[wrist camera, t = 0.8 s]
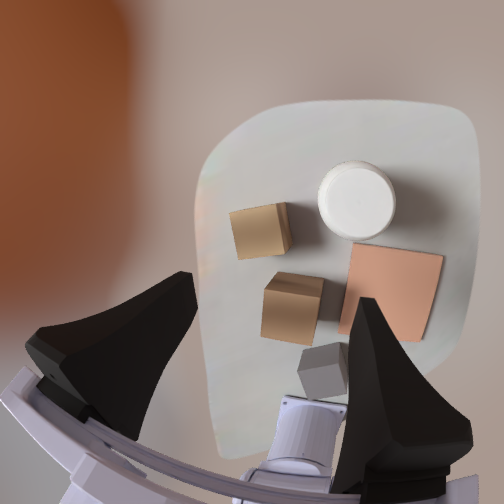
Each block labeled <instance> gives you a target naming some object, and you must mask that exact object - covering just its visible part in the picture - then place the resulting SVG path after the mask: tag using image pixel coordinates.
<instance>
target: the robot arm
mask: <svg viewBox="0 0 504 504" xmlns="http://www.w3.org/2000/svg"><path fill="white" fill-rule="evenodd" d="M197 310H198V305H197V299H196V294H195V288H194V282H193V276H192V273H188V272H182V271H180V272H177V273H175V274H173V275H172V276H170V277H168V278H166V279H165V280H163V281H161V282H160V283H158V284H156V285H155V286H153V287H151V288H149V289H148V290H146V291H144V292H143V293H141V294H139V295H137V296H135V297H133V298H132V299H129V300H128V301H126V302H124V303H122V304H120V305H118V306H116V307H114V308H111V309H109V310H106V311H104V312H101V313H99V314H96V315H93V316H90V317H87V318H84V319H81V320H77V321H74V322H69V323H65V324H60V325H54V326H47V327H41V328H39V329H38V330H37V331H36V333H35V334H34V335H33V336H32V337H31V338H30V339H29V340H28V341H27V342H26V343H25V348H26V350H27V352H28V354H29V355H30V357H31V358H32V360H33V361H34V362H35V364H36V365H37V366H38V368H39V369H40V370H41V372H42V373H43V374H44V377H43V378H42V379H41V378H40V377H39V376H38V375H36V374H35V373H34V372H33V371H32V370H31V369H29V368H28V367H27V366H24V367H23V368H22V369H21V371H20V372H19V373H18V374H17V375H16V377H15V378H14V379H13V380H12V381H11V383H10V384H9V385H8V386H7V388H6V389H5V390H4V391H3V393H2V394H1V395H0V401H1V402H2V403H3V404H4V406H5V407H6V408H7V409H8V410H9V411H10V413H11V414H12V415H13V416H14V417H15V418H16V420H17V421H18V422H19V423H20V424H21V425H22V426H23V427H24V429H25V430H26V431H27V432H28V433H29V434H30V435H31V436H32V437H33V438H34V440H35V441H36V442H37V443H38V444H39V445H40V446H41V447H42V448H43V449H44V450H45V451H46V452H47V453H48V454H49V455H51V456H52V457H53V458H54V459H55V460H56V461H57V462H58V463H59V464H60V465H61V466H63V467H64V468H65V469H66V470H67V471H69V472H70V473H71V475H70V480H71V484H70V486H69V488H68V489H67V491H66V492H65V494H64V496H63V498H62V499H61V501H60V503H59V504H207V503H204V502H201V501H198V500H196V499H193V498H190V497H188V496H185V495H182V494H180V493H177V492H174V491H172V490H170V489H168V488H165V487H162V486H160V485H158V484H156V483H154V482H152V481H149V480H147V479H145V478H146V476H147V475H146V473H144V472H143V471H141V470H139V469H138V468H136V467H135V466H134V465H132V464H131V463H129V462H128V461H127V460H126V459H125V458H123V457H122V456H120V455H118V454H117V453H115V452H114V451H112V450H111V448H112V449H114V450H116V451H118V452H120V453H122V454H123V455H125V456H127V457H129V458H131V459H133V460H135V461H137V462H139V463H141V464H143V465H145V466H147V467H149V468H151V469H154V470H156V471H158V472H160V473H163V474H165V475H167V476H170V477H172V478H175V479H177V480H180V481H182V482H185V483H188V484H191V485H193V486H196V487H200V488H202V489H205V490H209V491H212V492H215V493H218V494H222V495H225V496H229V497H233V500H232V504H478V494H479V491H478V490H479V488H478V487H479V486H478V485H479V484H478V475H477V474H475V475H472V476H468V477H464V478H460V479H455V480H452V481H449V482H446V476H447V475H449V474H450V465H451V464H453V463H454V462H456V461H457V460H459V459H460V458H462V457H463V456H464V455H466V454H467V453H468V452H469V451H470V450H471V449H472V447H473V435H472V428H471V423H470V420H468V419H467V418H466V417H465V416H463V415H462V414H461V413H460V412H459V411H457V410H456V409H455V408H454V407H452V406H451V405H450V404H449V403H448V402H447V401H446V400H445V399H444V398H443V397H442V396H441V395H440V394H439V393H438V392H437V391H436V390H435V389H434V388H433V387H432V386H431V385H430V384H429V382H428V381H427V380H426V379H425V378H424V377H423V375H422V374H421V373H420V372H419V371H418V369H417V368H416V367H415V365H414V364H413V363H412V361H411V360H410V358H409V357H408V356H407V354H406V353H405V351H404V349H403V348H402V346H401V345H400V343H399V341H398V340H397V338H396V336H395V335H394V333H393V331H392V329H391V328H390V326H389V324H388V322H387V320H386V319H385V317H384V315H383V313H382V311H381V309H380V307H379V305H378V303H377V301H376V300H375V298H370V297H361V296H360V299H359V302H358V306H357V310H356V313H355V317H354V320H353V324H352V327H351V331H350V339H349V351H348V368H349V401H348V412H347V419H346V426H345V432H344V437H343V443H342V448H341V452H340V457H339V462H338V465H337V469H336V473H335V476H333V477H332V480H331V474H332V468H331V467H332V460H333V454H334V446H335V439H336V435H337V432H338V430H339V428H340V425H341V423H342V421H343V418H344V416H345V413H346V411H347V406H346V405H340V404H333V403H325V402H319V401H312V400H306V399H301V398H295V397H290V396H284V397H283V398H282V401H281V407H280V412H279V417H278V423H277V428H276V433H275V438H274V441H273V443H272V446H271V449H270V452H269V454H268V457H267V460H266V461H261V463H260V465H259V467H258V469H257V468H250V469H249V470H248V471H246V472H244V473H243V474H242V476H241V477H240V479H239V480H238V479H235V478H231V477H227V476H223V475H220V474H216V473H213V472H210V471H207V470H204V469H201V468H198V467H194V466H192V465H189V464H186V463H184V462H181V461H178V460H176V459H173V458H171V457H168V456H166V455H163V454H161V453H159V452H156V451H154V450H152V449H150V448H147V447H145V446H143V445H141V444H139V443H137V442H135V441H137V440H138V437H139V433H140V430H141V427H142V423H143V420H144V417H145V414H146V411H147V408H148V406H149V403H150V400H151V398H152V395H153V393H154V390H155V388H156V386H157V383H158V381H159V379H160V377H161V375H162V372H163V370H164V369H165V367H166V365H167V363H168V361H169V360H170V358H171V357H172V355H173V353H174V352H175V350H176V349H177V347H178V345H179V344H180V342H181V341H182V339H183V337H184V336H185V334H186V332H187V331H188V329H189V327H190V326H191V323H192V321H193V319H194V317H195V314H196V312H197ZM285 402H287V403H285ZM341 411H343V412H341ZM110 447H111V448H110ZM330 481H331V484H330Z"/></svg>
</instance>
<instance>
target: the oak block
mask: <svg viewBox="0 0 504 504" xmlns="http://www.w3.org/2000/svg"><path fill="white" fill-rule="evenodd" d="M229 215H230V220H231V225H232V230H233V235H234V240H235V245H236V250H237V255H238V260H242V259H249V258H257V257H265V256H273V255H281V254H285V253H286V252H287V251H288V250H289V248H290V247H291V246H292V245H293V243H292V237H291V231H290V225H289V220H288V214H287V209H286V204H285V202H282V203H277V204H271V205H266V206H260V207H255V208H249V209H244V210H240V211H236V212H231V213H229Z"/></svg>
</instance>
